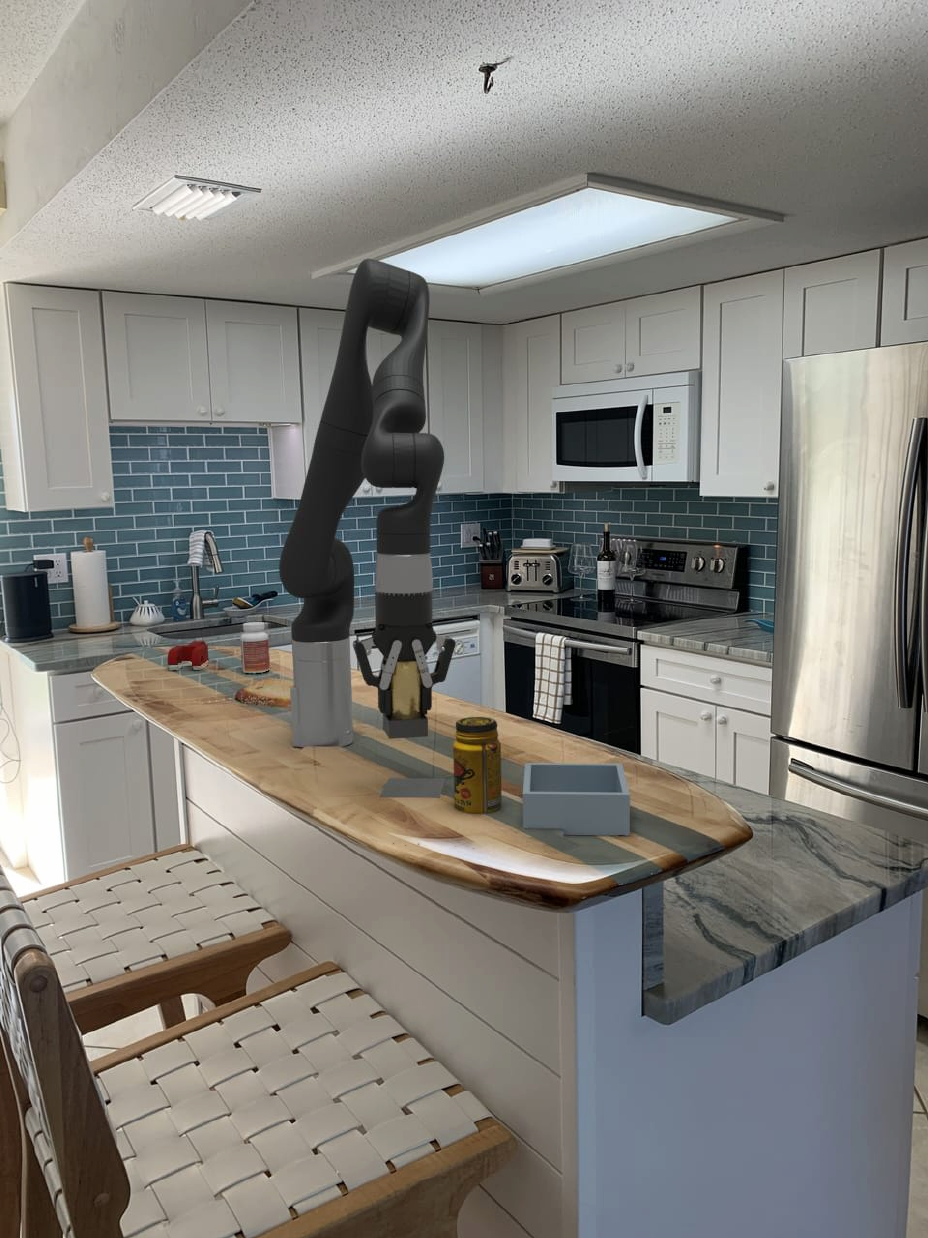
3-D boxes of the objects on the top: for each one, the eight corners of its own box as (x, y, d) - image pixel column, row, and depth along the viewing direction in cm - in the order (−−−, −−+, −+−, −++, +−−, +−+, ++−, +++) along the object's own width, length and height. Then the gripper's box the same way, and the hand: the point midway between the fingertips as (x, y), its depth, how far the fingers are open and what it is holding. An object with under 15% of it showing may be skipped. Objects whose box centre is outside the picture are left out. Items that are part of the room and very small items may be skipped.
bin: (523, 834, 116) (522, 793, 115) (525, 799, 129) (525, 763, 128) (629, 835, 115) (630, 795, 114) (621, 800, 127) (622, 763, 127)
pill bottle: (275, 672, 218) (273, 622, 216) (251, 676, 214) (249, 626, 212) (260, 668, 222) (258, 620, 221) (236, 672, 218) (234, 623, 217)
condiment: (440, 813, 124) (438, 722, 122) (482, 796, 130) (480, 709, 129) (484, 826, 119) (483, 730, 118) (525, 807, 126) (525, 717, 124)
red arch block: (200, 672, 220) (198, 650, 219) (168, 673, 220) (166, 651, 219) (216, 659, 236) (215, 639, 235) (187, 660, 236) (186, 639, 235)
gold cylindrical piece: (382, 728, 133) (382, 656, 131) (420, 726, 134) (420, 654, 132) (389, 738, 128) (388, 663, 126) (428, 736, 129) (427, 662, 127)
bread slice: (343, 705, 186) (342, 686, 186) (248, 715, 179) (247, 696, 179) (318, 687, 203) (318, 669, 202) (231, 696, 196) (230, 678, 195)
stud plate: (379, 802, 128) (379, 796, 128) (389, 783, 136) (389, 778, 136) (439, 803, 128) (439, 797, 128) (445, 784, 136) (445, 778, 136)
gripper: (450, 583, 133) (450, 705, 136) (346, 585, 130) (348, 711, 132) (463, 589, 126) (463, 718, 128) (353, 592, 122) (355, 724, 125)
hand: (404, 714), depth 130 cm, fingers closed on gold cylindrical piece, 4 cm apart
